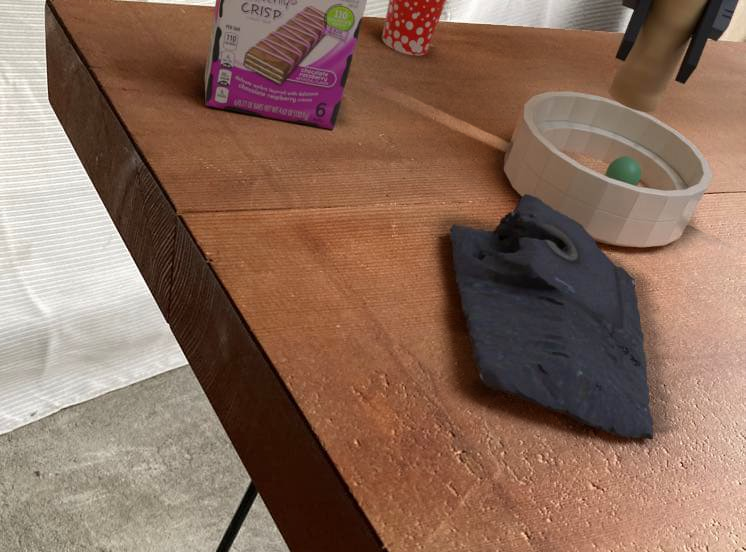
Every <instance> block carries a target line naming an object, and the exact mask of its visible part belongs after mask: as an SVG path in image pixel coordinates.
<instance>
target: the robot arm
mask: <svg viewBox="0 0 746 552" xmlns="http://www.w3.org/2000/svg"><path fill="white" fill-rule="evenodd" d="M739 1H740V0H709V2H708V4H707V6H706V8H705V10H704V12H703V14H702V16H701V19H700V21H699V23H698V25H697V27H696V29H695V31H694V33H693V35H692V37H691V39H690V41H689V43H688V45H687V47H686V50H685V52H684V56H683V57H682V61H681V63H680V66H679V69H678V71H677V73H676V76H675V79H674V82H677V83H680V84H682V85H685V84H686V83H687V81H688V80H689V79H690V77H691V76H692V74H693V73H694V71H695V70H696V69H697V67H698V65H699V62H700V60H701V57H702V55H703V52H704V51H705V47H706V44H707V42H708V40H710V41H714V42H718V41H719V40H720V38H721V37H723V35H724V33H725V32H726V31H727V29H728V28H729V27H730V24H731V22H732V19H733V17H734V14H735V11H736V8H737V7H738V4H739ZM650 3H651V0H621V6H622V7H625V8H627V9H630V10H633V11H632V13H631V16H630V18H629V21H628V24H627V26H626V29H625V31H624V34H623V36H622V38H621V42H620V44H619V46H618V49H617V52H616V54H615V57H614V59H616V60H619V61H624V62H625V60H626V58H627V56H628V54H629V53H630V51H631V49H632V47H633V46H634V44H635V41H636V39H637V36H638V34H639V31H640V28H641V26H642V23H643V21H644V18H645V16H646V13H647V11H648V8H649V5H650Z"/></svg>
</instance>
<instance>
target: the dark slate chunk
mask: <svg viewBox="0 0 746 552" xmlns="http://www.w3.org/2000/svg"><path fill="white" fill-rule="evenodd" d="M449 232H450V235H449V239H450V242H451V245H452V246H451V250H452V259H453V271H454V273H455V278H454V280H455V282H456V283H457V288H456V289H457V291H458V293H459V295H460V298H461V300H460V301H461V302H460V303H461V310H462V311H461V312H462V314H463V316H464V318H465V320H466V328H467V332H468V336H469V339H470V344H471V348H472V357H473V363H474V366H475V368H476V371H477V374H478V375H479V378H480V381H481V382H482V383H483V384H484V385H485V386H486V387H487V388H490V389H493V390H496V391H500V392H503V393H506V394H508V395H513V396H514V397H516V398H517V399H520V400H523V401H525V402H528V403H532V404H533V403H534V404H536V405H538V406H540V407H542V408H545V409H547V410H552V411H555V412H559V413H562V414H563V415H565V416H567V417H569V418H572V419H573V420H574V421H576V422H577V423H581V424H584V425H586V426H589V427H593V428H596V429H598V430H601V431H604V432H607V433H610V434H612V435H614V436H616V437H621V438H626V437H627V438H632V439H638V438H639V439H640V438H643V439H647V440H654V419H653V415H652V412H651V409H650V406H649V404H650V402H651V398H650V395H649V393H650V388H649V385H648V373H647V372H648V371H647V365H648V362H647V359H646V352H645V348H644V341H645V336H644V335H645V334H644V332H643V331H642V325H641V324H642V323H641V315H640V311H639V305H638V303H639V302H638V296H637V293H636V283H635V281H636V280H635V278H634V277H632V276H631V275H630V274H629V273H628V272H627V270H626V269H625V268H623V267H622V266H617V265H616V264H615V263H614V262H613V261H612V259H610V258H609V257H608V255H607V254H605V253H604V252H603V250H602V249H600V247H598V244H597V243H596V242H597V241H595V240H594V239H593V238H592V236H591V235H590V234H589V233H588V232H587V231H586V230H585V229H584V228H583V226H582V225H581V224H579V223H578V222H576V221H575V220H573V219H571V218H569V217H568V216H566V215H563V214H561V213H560V212H558V211H556V210H554V209H552V208H551V207H550V206H548V205H546V204H545V203H544V202H542V201H541V200H540V199H539V198H537V197H533V196H531V195H529V194H525V195H524V196H523V197H522V196H521V198H520V199H519V200H518V202H517V205H516V206H515V207H514V209H513V210H512V211H508V213H506V214H505V215H504V216H503V217H502V218H500V220H499V224H498V225H497V226H496V227H495V229H493V231H492V230H486V229H476V228H473V227H472V226H466V225H458V224H455V223H454V224H452V225H451V227H450V228H449Z"/></svg>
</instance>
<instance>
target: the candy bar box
mask: <svg viewBox="0 0 746 552" xmlns="http://www.w3.org/2000/svg"><path fill="white" fill-rule="evenodd" d="M367 2H368V0H215V3H214V11H213V18H212V25H211V30H210V37H209V45H208V51H207V57H206V64H205V65H206V66H205V72H204V95H205V106H206V107H211V108H217V109H221V110H228V111H232V112H233V111H234V112H238V113H243V114H247V115H252V116H259V117H264V118H270V119H275V120H280V121H287V122H290V123H296V124H302V125H307V126H313V127H318V128H323V129H329V130H334V129H335V126H336V123H337V120H338V119H337V118H338V116H339V115H338V114H339V111H340V106H341V103H342V99H343V96H344V92H345V87H346V84H347V81H348V77H349V72H350V70H351V64H352V60H353V56H354V53H355V49H356V47H357V41H358V38H359V34H360V31H361V26H362V21H363V17H364V14H365V11H366V10H365V9H366V6H367Z"/></svg>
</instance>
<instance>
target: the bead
mask: <svg viewBox="0 0 746 552" xmlns="http://www.w3.org/2000/svg"><path fill="white" fill-rule="evenodd" d="M605 176H607V177H609V178H611V179H615V180H618V181H621V182H624V183H628V184H631V185H634V186H637V187H638V185H639V183H640V181H641V180H640V179H641V168H640V165H639V164H638V162H637V161H636V160H635V159H633V158H631V157H619V158H617V159H615V160H614V161H612V162H611V163H609V165H608V166H607V168H606V171H605Z"/></svg>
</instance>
